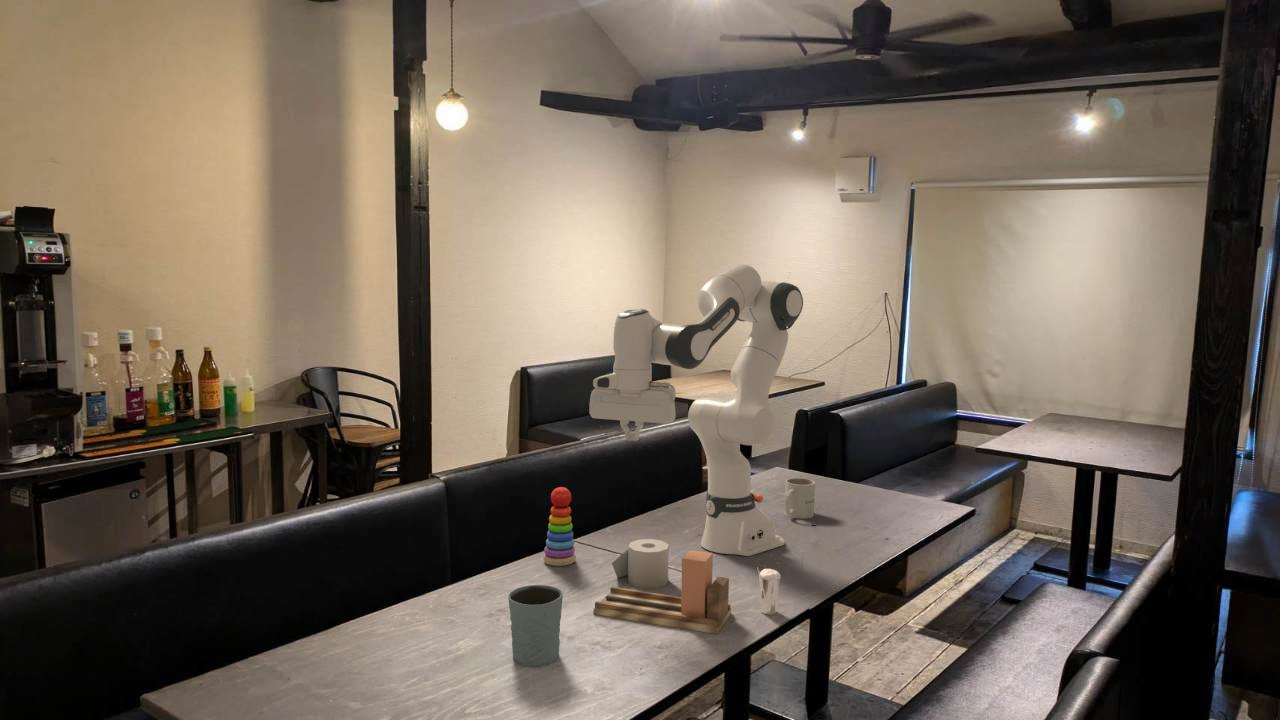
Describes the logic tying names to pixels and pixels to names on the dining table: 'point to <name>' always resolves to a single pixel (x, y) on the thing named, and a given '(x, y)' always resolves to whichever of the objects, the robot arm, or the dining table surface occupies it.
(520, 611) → the green cup
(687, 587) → the panel
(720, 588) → the channel
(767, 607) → the milkshake
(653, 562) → the toilet tissue
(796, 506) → the mug
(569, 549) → the stacking toy
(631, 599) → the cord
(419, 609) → the dining table surface
